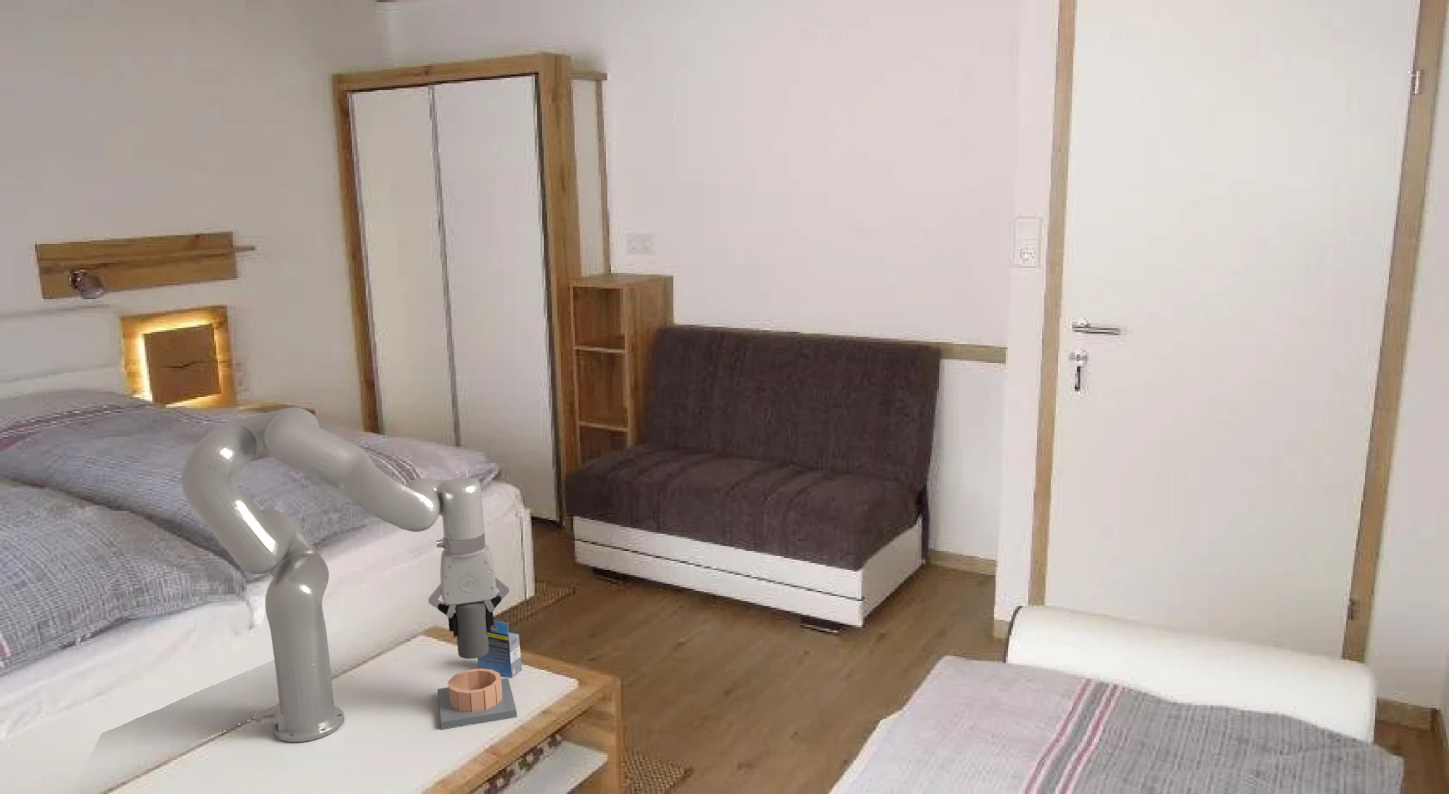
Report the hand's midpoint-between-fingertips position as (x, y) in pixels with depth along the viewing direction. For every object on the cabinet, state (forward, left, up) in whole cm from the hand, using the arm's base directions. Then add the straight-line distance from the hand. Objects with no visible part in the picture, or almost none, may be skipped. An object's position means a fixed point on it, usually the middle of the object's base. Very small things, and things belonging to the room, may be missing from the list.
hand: (471, 630), depth 203 cm
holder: (0, 0, -16) cm, 16 cm away
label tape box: (+6, +14, -16) cm, 22 cm away
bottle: (0, 0, -5) cm, 5 cm away
